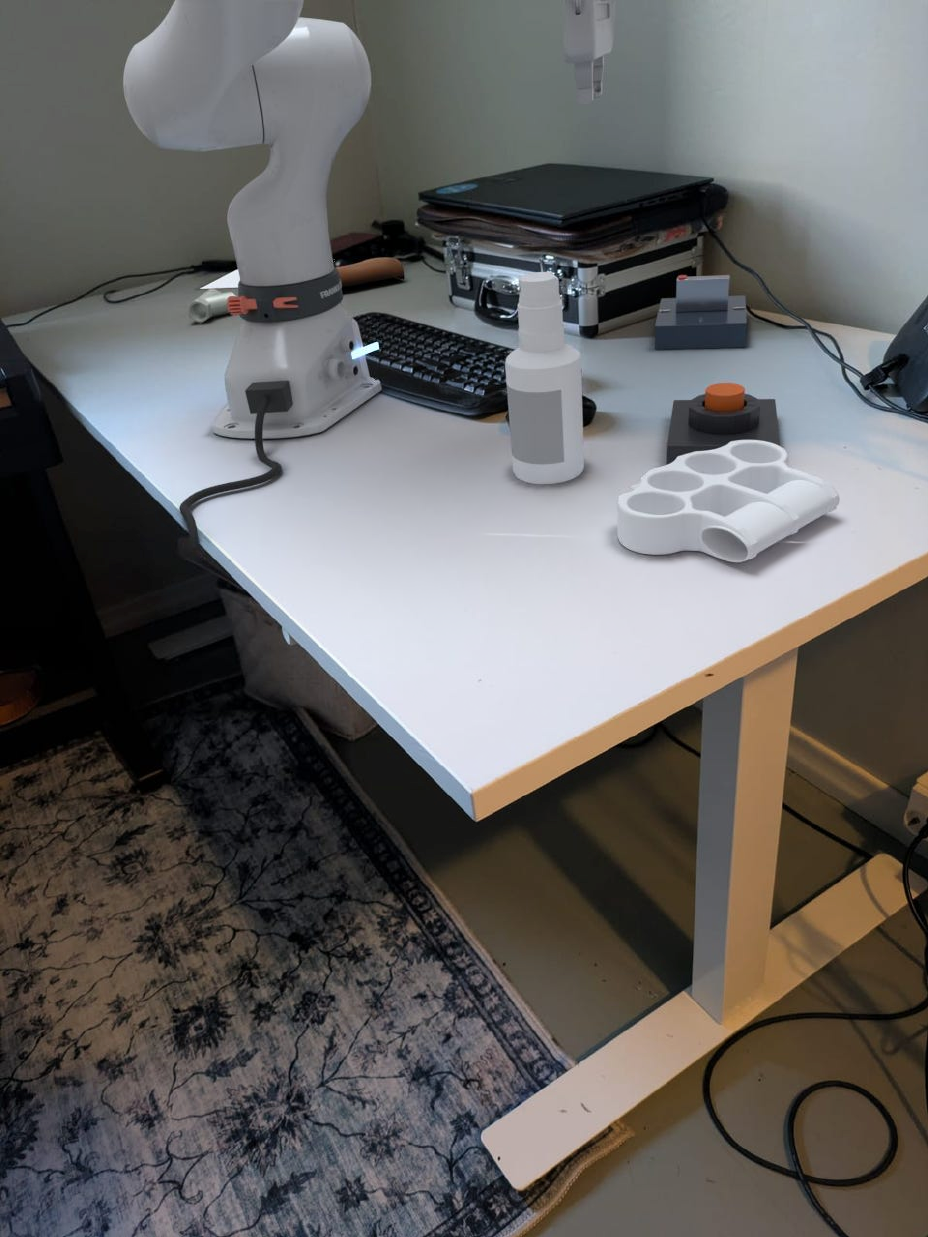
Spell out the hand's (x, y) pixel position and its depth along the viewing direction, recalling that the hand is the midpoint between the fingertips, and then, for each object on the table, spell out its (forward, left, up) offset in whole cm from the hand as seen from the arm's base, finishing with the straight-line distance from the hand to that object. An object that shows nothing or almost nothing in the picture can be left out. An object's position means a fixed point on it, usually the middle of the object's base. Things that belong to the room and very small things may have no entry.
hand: (590, 100), depth 116 cm
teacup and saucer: (+38, +68, -27) cm, 83 cm away
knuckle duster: (-62, -18, -27) cm, 70 cm away
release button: (-46, -18, -23) cm, 55 cm away
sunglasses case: (+24, +46, -27) cm, 59 cm away
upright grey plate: (-10, -15, -24) cm, 30 cm away
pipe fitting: (+8, +64, -27) cm, 70 cm away
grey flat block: (-10, -15, -27) cm, 32 cm away
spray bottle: (-53, -2, -27) cm, 60 cm away
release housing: (-46, -18, -27) cm, 56 cm away
